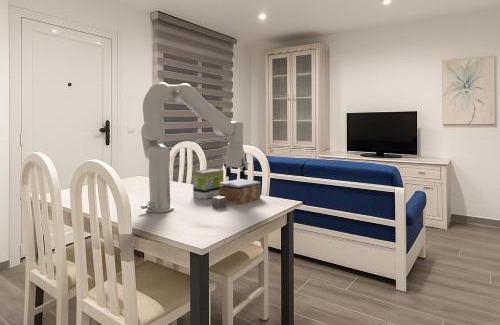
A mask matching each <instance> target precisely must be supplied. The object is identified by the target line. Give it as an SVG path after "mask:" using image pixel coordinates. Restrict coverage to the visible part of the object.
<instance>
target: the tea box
mask: <svg viewBox="0 0 500 325" xmlns="http://www.w3.org/2000/svg"><path fill="white" fill-rule="evenodd" d="M192 173H193V174H192V196H193V198H198V199H201V200H202V199H203V200H206V199H209V198H210V199H211V198H212V197H215V196H219V186H221V185H219V183H220V182H224V169H217V168H205V169H201V170H199V169H198V170H194V171H193V172H192Z"/></svg>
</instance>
